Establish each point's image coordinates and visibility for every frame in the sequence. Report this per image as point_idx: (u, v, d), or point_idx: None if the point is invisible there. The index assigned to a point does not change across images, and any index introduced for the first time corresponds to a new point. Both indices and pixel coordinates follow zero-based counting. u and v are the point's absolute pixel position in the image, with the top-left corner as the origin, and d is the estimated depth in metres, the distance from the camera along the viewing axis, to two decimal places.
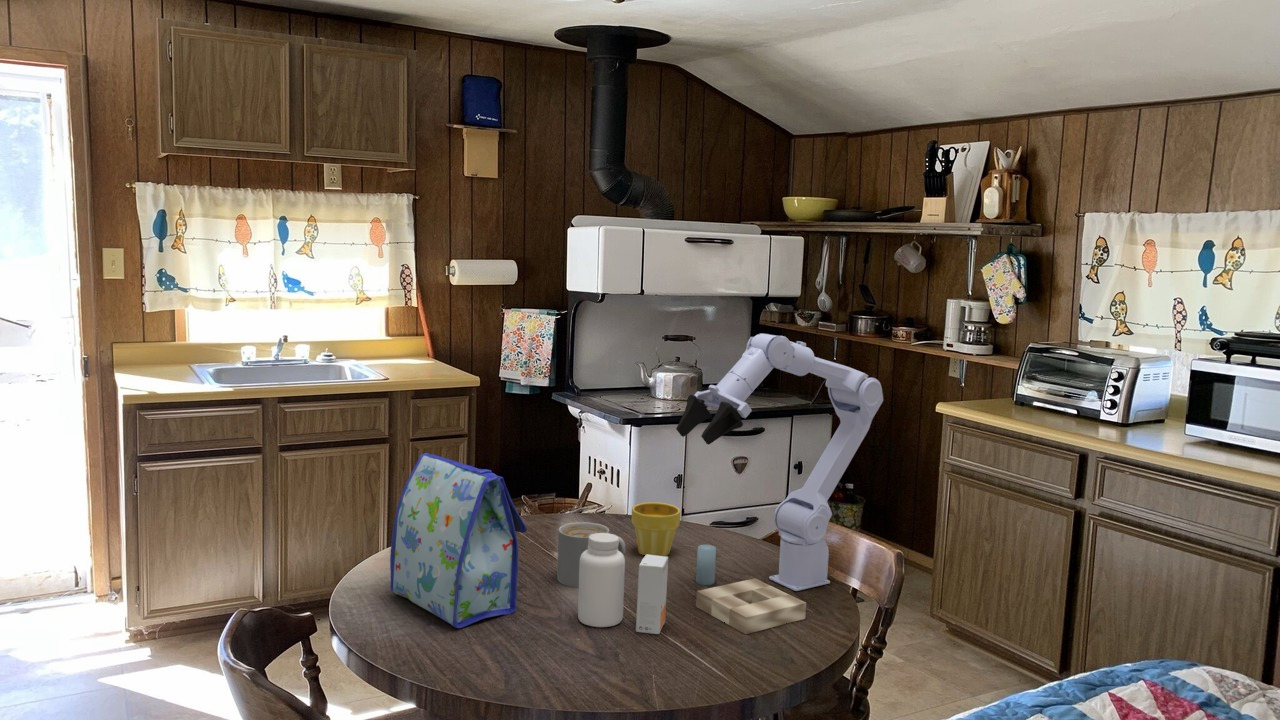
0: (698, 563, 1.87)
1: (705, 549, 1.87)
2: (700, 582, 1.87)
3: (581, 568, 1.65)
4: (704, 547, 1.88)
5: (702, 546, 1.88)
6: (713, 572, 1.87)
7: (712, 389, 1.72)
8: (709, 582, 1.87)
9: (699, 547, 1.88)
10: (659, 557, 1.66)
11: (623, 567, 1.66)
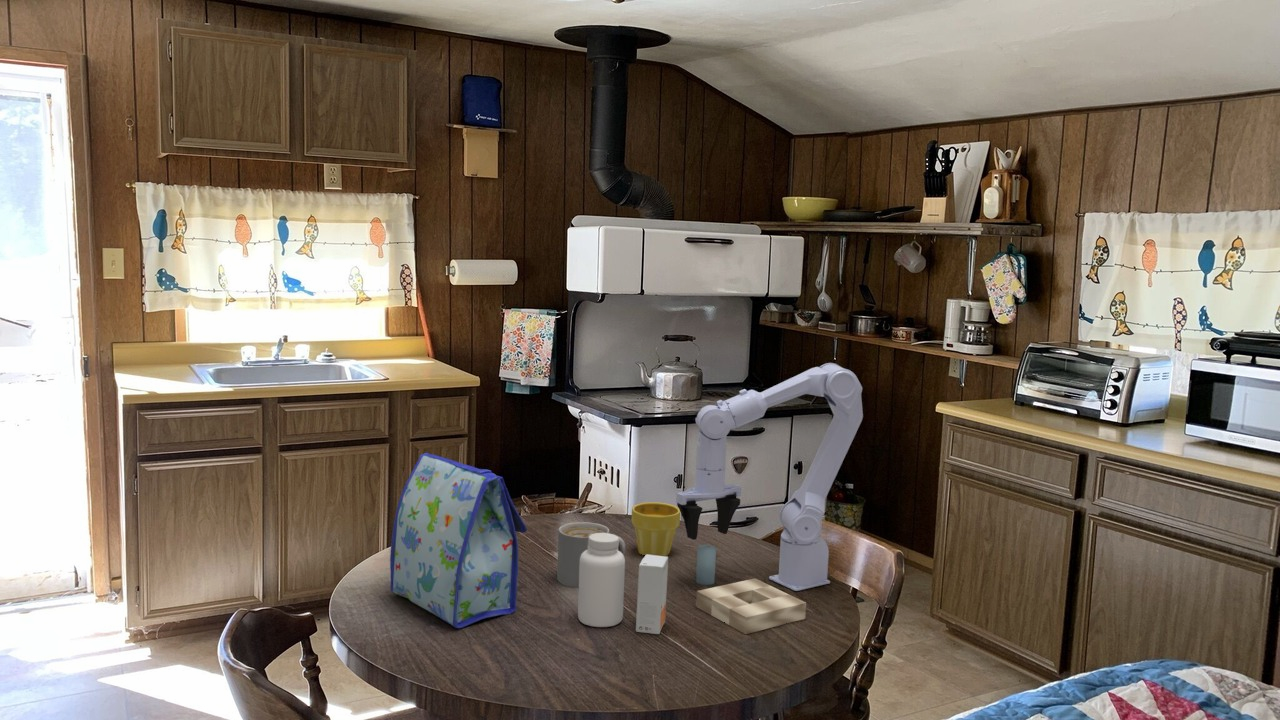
0: (698, 563, 1.87)
1: (705, 549, 1.87)
2: (700, 582, 1.87)
3: (581, 568, 1.65)
4: (704, 547, 1.88)
5: (702, 546, 1.88)
6: (713, 572, 1.87)
7: None
8: (709, 582, 1.87)
9: (699, 547, 1.88)
10: (659, 557, 1.66)
11: (623, 567, 1.66)
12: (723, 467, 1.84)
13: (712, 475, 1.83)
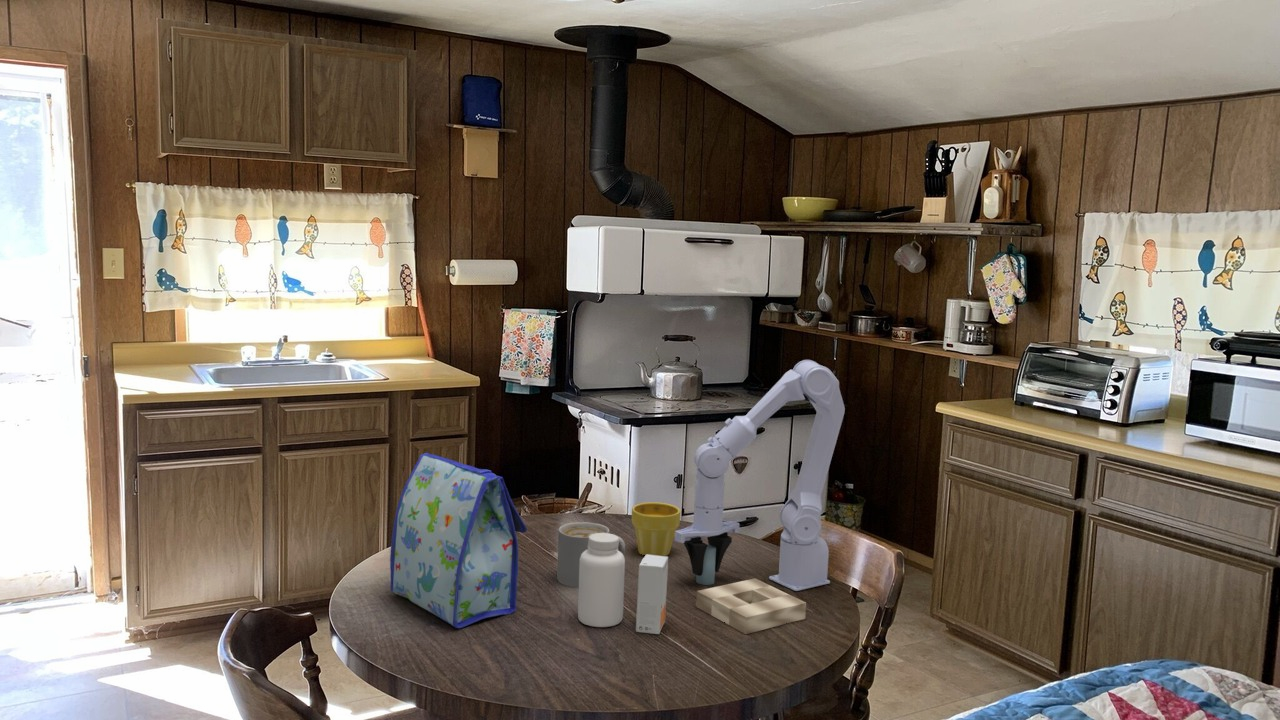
0: None
1: None
2: (700, 582, 1.87)
3: (581, 568, 1.65)
4: None
5: None
6: (713, 572, 1.87)
7: None
8: (709, 582, 1.87)
9: None
10: (659, 557, 1.66)
11: (623, 567, 1.66)
12: (721, 505, 1.85)
13: (710, 513, 1.84)
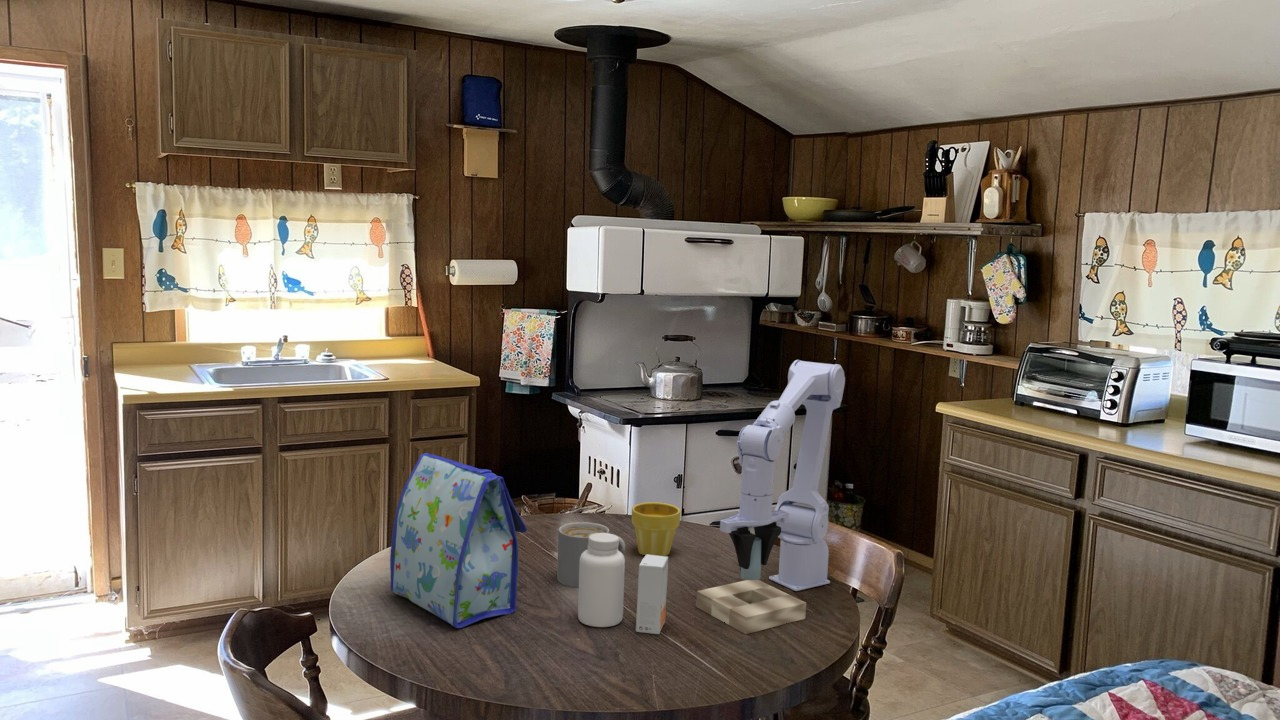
0: None
1: None
2: (745, 577, 1.72)
3: (581, 568, 1.65)
4: None
5: None
6: (759, 566, 1.72)
7: None
8: (755, 577, 1.72)
9: None
10: (659, 557, 1.66)
11: (623, 567, 1.66)
12: None
13: (759, 501, 1.68)
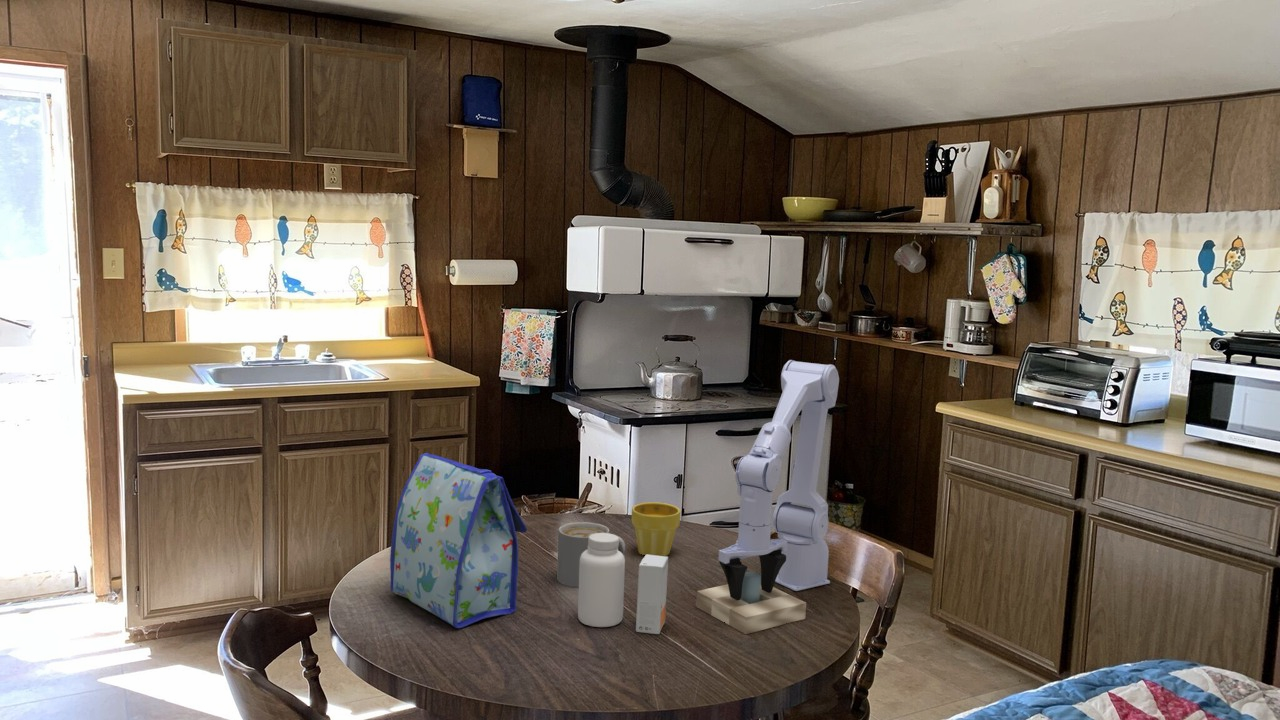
0: None
1: (749, 577, 1.72)
2: None
3: (581, 568, 1.65)
4: (748, 574, 1.73)
5: (746, 573, 1.74)
6: None
7: None
8: None
9: None
10: (659, 557, 1.66)
11: (623, 567, 1.66)
12: None
13: (757, 531, 1.69)
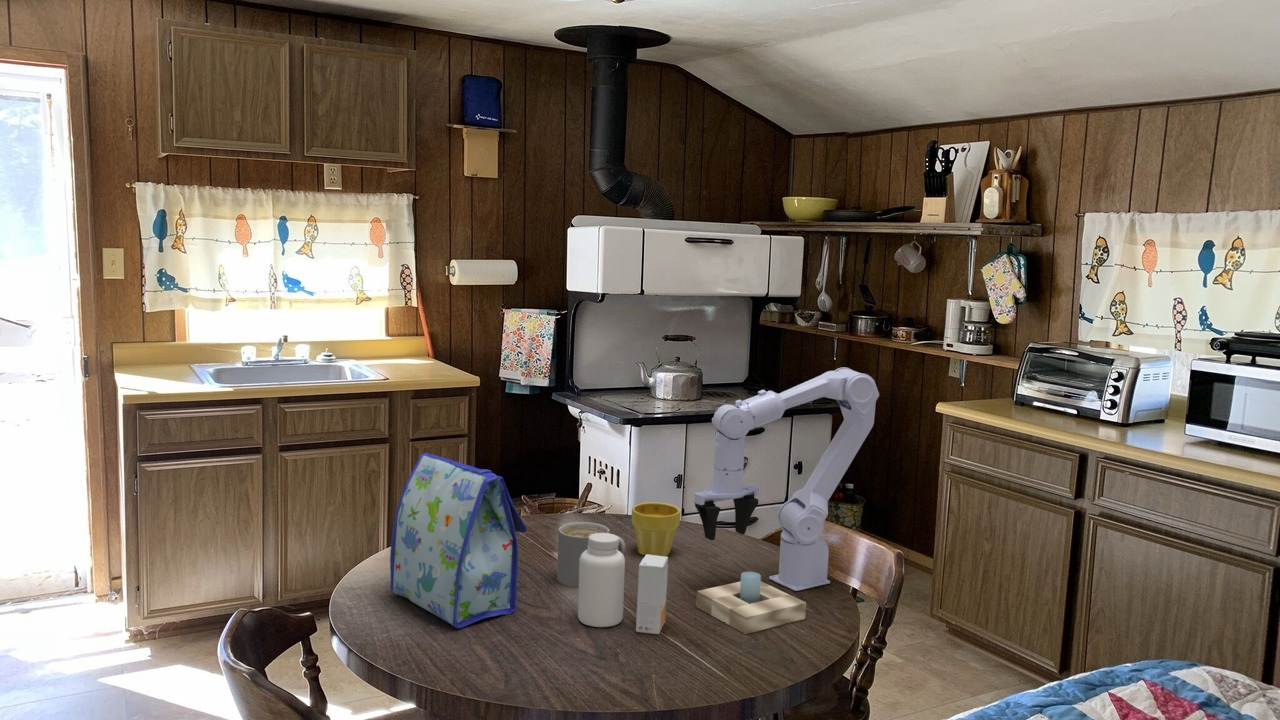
0: (741, 592, 1.73)
1: (749, 577, 1.72)
2: None
3: (581, 568, 1.65)
4: (748, 574, 1.73)
5: (746, 573, 1.74)
6: None
7: None
8: None
9: (742, 574, 1.73)
10: (659, 557, 1.66)
11: (623, 567, 1.66)
12: (742, 467, 1.83)
13: (730, 475, 1.82)
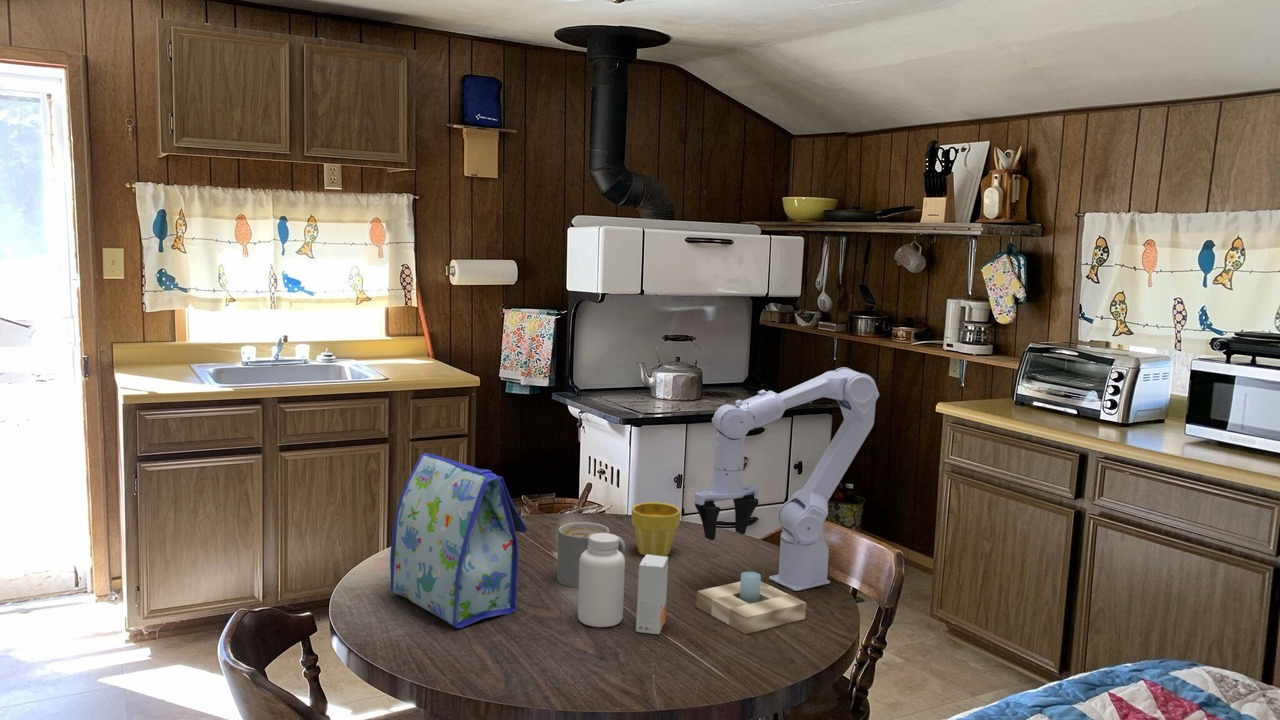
0: (741, 592, 1.73)
1: (749, 577, 1.72)
2: None
3: (581, 568, 1.65)
4: (748, 574, 1.73)
5: (746, 573, 1.74)
6: None
7: None
8: None
9: (742, 574, 1.73)
10: (659, 557, 1.66)
11: (623, 567, 1.66)
12: (742, 467, 1.83)
13: (730, 475, 1.82)
